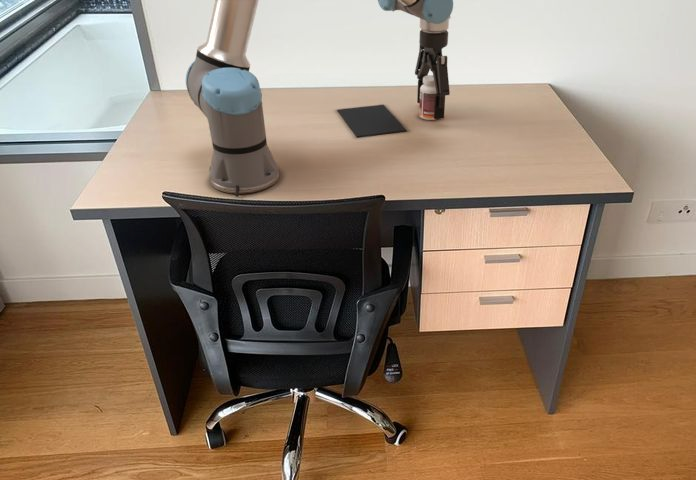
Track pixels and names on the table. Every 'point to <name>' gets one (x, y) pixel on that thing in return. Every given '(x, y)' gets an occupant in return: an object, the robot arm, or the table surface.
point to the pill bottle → (427, 98)
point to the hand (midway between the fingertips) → (430, 110)
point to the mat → (371, 120)
